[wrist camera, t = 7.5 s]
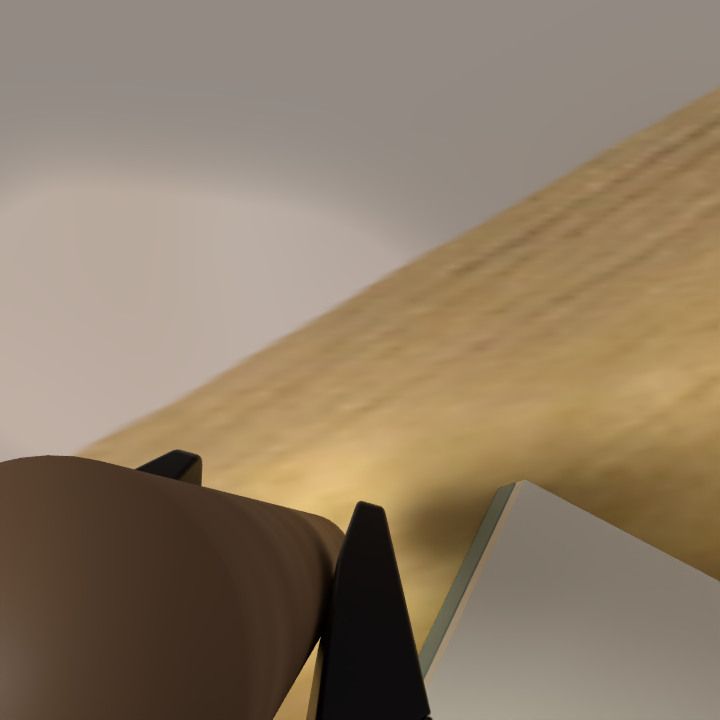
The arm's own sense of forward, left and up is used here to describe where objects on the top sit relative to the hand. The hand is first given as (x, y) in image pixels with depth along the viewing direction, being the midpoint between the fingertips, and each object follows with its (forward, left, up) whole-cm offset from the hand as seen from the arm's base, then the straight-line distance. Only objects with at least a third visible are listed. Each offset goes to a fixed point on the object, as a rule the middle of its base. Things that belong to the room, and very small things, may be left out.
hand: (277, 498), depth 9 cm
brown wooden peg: (-1, 0, -7) cm, 7 cm away
